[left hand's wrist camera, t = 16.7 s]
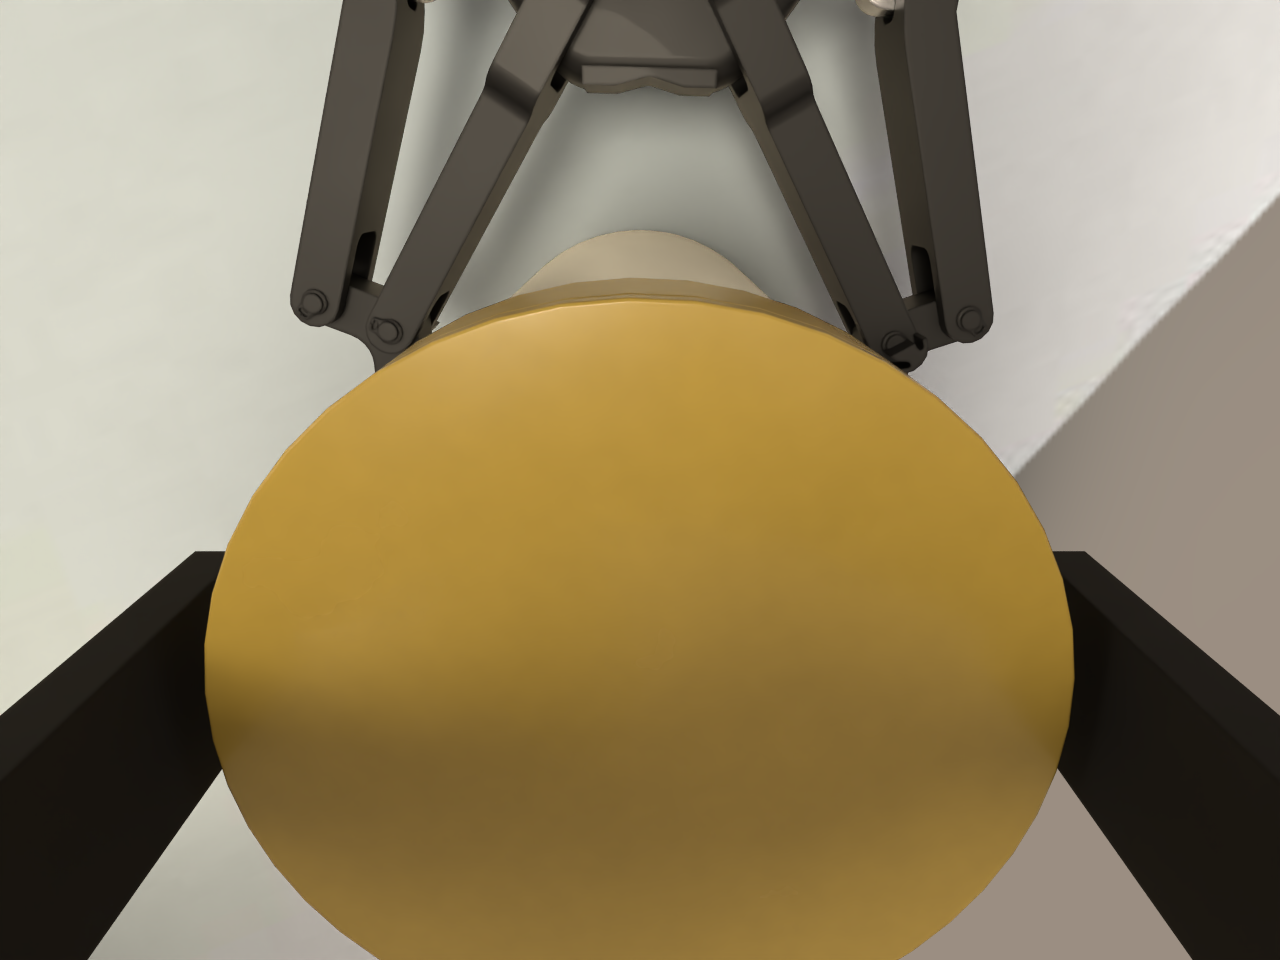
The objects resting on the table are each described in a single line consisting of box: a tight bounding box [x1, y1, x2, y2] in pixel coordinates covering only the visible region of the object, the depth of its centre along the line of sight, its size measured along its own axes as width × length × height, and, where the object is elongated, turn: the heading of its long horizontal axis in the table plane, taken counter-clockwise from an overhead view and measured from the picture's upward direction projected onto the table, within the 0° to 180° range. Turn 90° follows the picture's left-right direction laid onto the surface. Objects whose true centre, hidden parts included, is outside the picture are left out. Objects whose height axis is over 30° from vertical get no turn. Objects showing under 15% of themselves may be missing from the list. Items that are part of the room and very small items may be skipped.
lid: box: [204, 278, 1075, 960], centre depth 11 cm, size 11×11×2 cm
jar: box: [510, 230, 770, 299], centre depth 20 cm, size 10×10×19 cm
